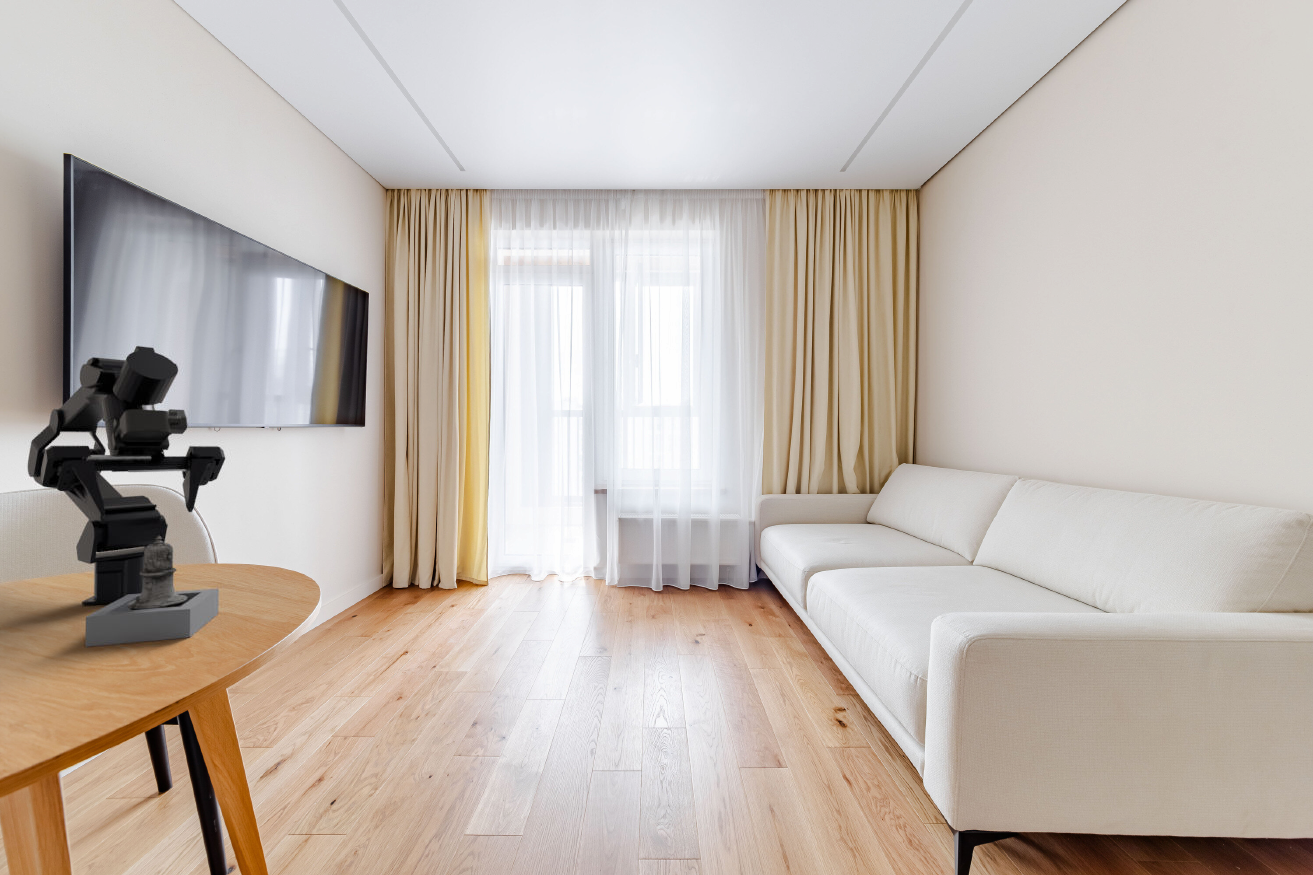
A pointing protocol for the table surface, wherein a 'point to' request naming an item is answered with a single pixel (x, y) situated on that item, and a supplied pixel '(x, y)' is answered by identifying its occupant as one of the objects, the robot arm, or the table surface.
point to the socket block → (151, 619)
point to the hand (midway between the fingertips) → (148, 513)
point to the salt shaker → (158, 579)
